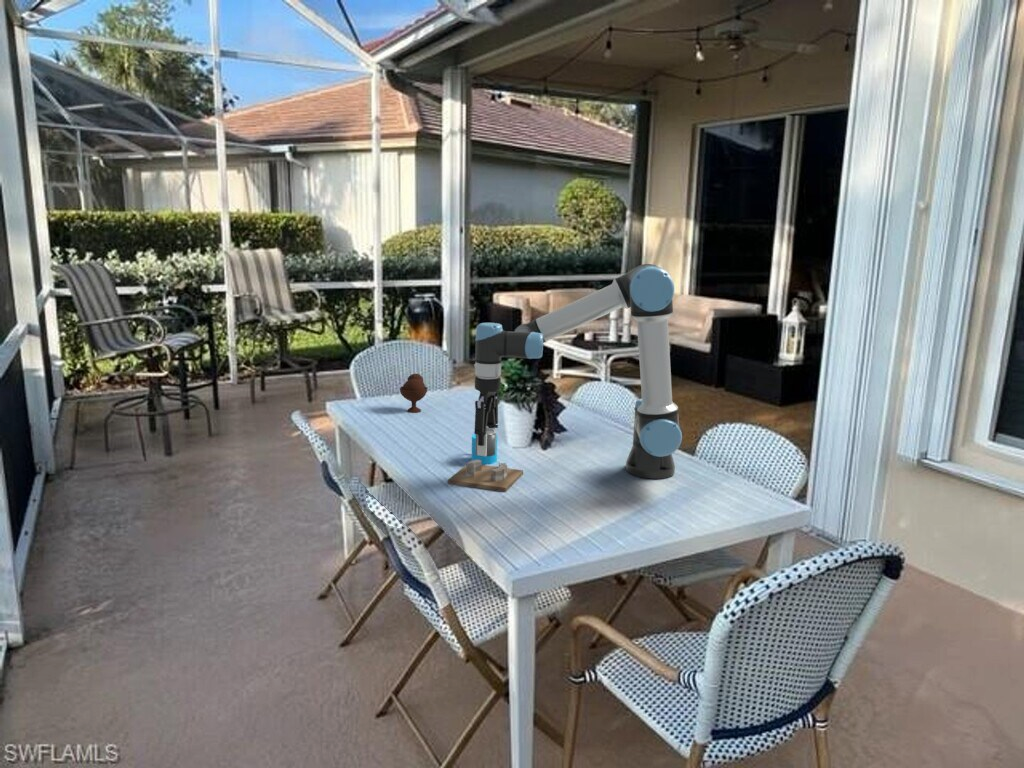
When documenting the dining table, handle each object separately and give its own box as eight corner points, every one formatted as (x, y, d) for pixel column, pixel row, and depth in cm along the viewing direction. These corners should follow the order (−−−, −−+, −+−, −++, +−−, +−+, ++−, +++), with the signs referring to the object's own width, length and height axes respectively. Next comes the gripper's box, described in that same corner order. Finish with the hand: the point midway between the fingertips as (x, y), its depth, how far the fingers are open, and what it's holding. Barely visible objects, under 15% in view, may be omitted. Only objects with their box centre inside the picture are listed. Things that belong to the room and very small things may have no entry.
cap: (498, 451, 224) (498, 431, 223) (491, 457, 218) (491, 436, 217) (479, 448, 226) (480, 428, 224) (472, 454, 220) (472, 433, 219)
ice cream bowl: (397, 408, 300) (397, 372, 297) (425, 406, 304) (425, 370, 300) (402, 415, 290) (401, 377, 287) (430, 413, 294) (430, 376, 290)
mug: (500, 462, 239) (501, 438, 237) (477, 465, 235) (477, 441, 233) (486, 451, 249) (486, 428, 247) (463, 454, 246) (463, 430, 244)
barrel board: (523, 474, 229) (523, 461, 228) (505, 491, 214) (506, 477, 213) (468, 466, 234) (468, 453, 233) (448, 483, 219) (448, 469, 218)
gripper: (487, 369, 227) (485, 441, 232) (463, 381, 209) (461, 459, 214) (510, 371, 224) (508, 444, 230) (488, 384, 207) (486, 463, 212)
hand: (485, 452), depth 222 cm, fingers closed on cap, 6 cm apart
